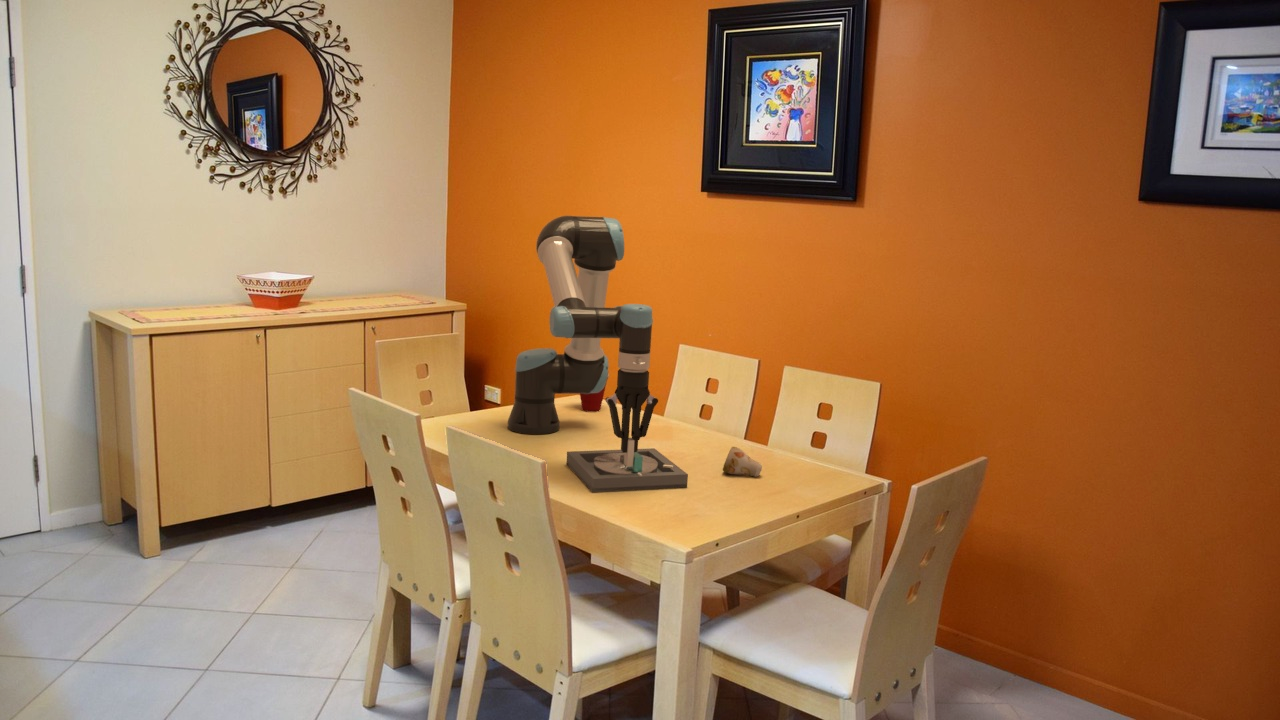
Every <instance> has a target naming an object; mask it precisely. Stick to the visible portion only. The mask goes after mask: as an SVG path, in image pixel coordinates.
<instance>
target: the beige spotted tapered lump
mask: <svg viewBox="0 0 1280 720" xmlns="http://www.w3.org/2000/svg"><path fill="white" fill-rule="evenodd" d="M762 468H763V466H762V464H761V463H760V462H759V461H757V460H755V459H753V458H751V457H750V456H749V455H748V454H747V453H745V452H744V451H743V450H742V449H741V448H739V447H736V446H731V448H730V450H729V452H728V454H727V456H726V458H725V462H724V464H723V467H722V471H723V472H724V473H726V474H729V475H737V476H738V475H747V476H750V477H754V478H756V477H759V476H760V474H761V472H762V470H763V469H762Z"/></svg>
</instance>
